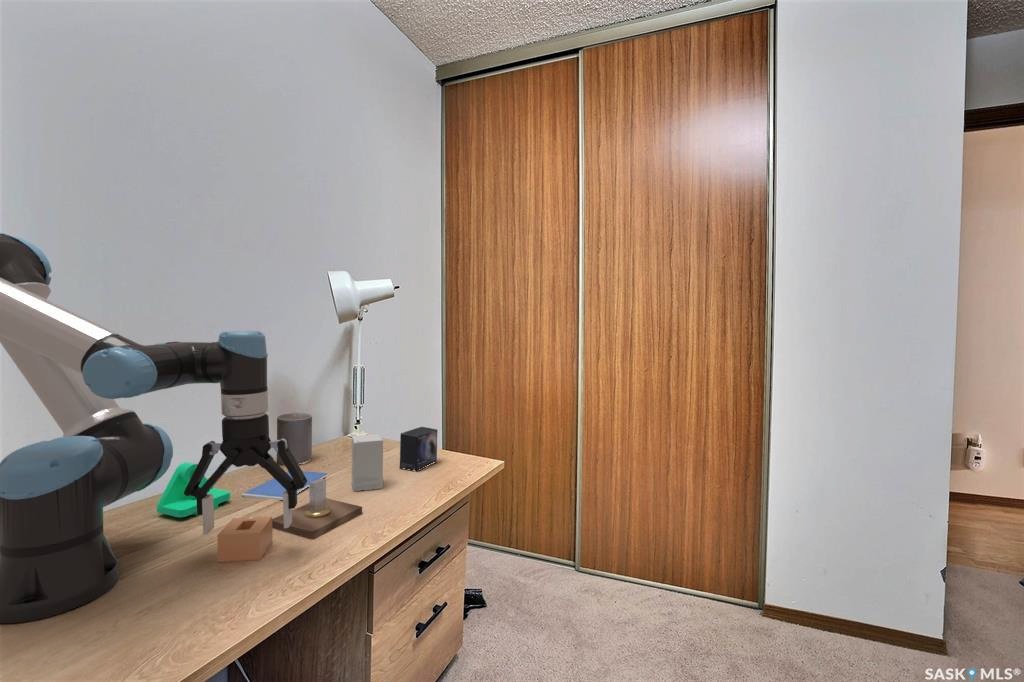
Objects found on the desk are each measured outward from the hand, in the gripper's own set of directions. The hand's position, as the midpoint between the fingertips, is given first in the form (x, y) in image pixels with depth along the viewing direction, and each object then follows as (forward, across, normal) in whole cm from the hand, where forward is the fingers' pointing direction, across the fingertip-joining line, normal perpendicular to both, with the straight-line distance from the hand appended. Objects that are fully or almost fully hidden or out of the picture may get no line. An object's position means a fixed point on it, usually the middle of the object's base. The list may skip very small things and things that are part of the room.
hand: (249, 528), depth 88 cm
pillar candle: (+4, -6, +56) cm, 57 cm away
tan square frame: (+4, -1, 0) cm, 4 cm away
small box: (+5, +30, +48) cm, 57 cm away
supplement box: (+5, +17, +33) cm, 37 cm away
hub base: (+5, +9, +13) cm, 16 cm away
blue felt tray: (+5, -2, +36) cm, 36 cm away
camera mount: (+4, -19, +22) cm, 29 cm away
